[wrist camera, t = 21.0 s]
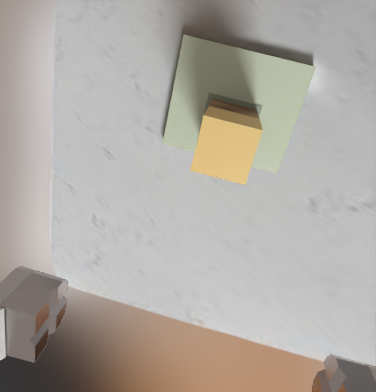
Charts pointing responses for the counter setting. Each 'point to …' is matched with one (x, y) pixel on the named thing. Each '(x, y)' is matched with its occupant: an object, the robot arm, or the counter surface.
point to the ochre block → (226, 145)
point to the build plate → (236, 94)
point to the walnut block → (234, 108)
